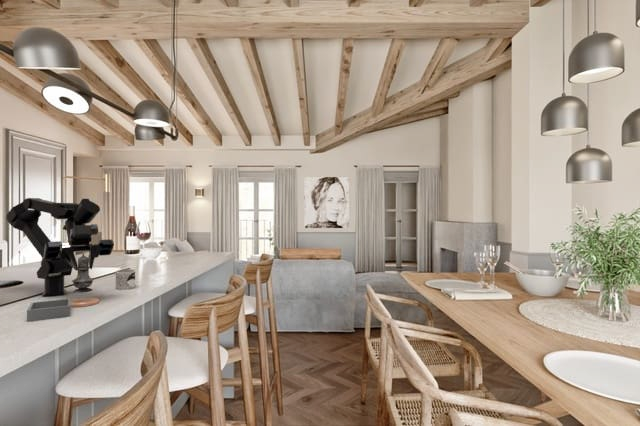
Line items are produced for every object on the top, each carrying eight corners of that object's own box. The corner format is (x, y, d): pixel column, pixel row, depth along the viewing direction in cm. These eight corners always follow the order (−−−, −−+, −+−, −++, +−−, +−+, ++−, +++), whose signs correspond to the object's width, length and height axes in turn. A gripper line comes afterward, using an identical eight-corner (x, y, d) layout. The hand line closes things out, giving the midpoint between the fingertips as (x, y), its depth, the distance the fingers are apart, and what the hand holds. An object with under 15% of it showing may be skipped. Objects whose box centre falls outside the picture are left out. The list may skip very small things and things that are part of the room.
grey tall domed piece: (82, 293, 112) (83, 255, 112) (67, 292, 113) (67, 254, 113) (98, 289, 118) (98, 253, 118) (82, 288, 119) (83, 252, 119)
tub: (30, 312, 105) (31, 302, 105) (70, 308, 110) (70, 298, 110) (26, 321, 97) (26, 310, 97) (70, 316, 102) (70, 305, 102)
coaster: (67, 302, 117) (67, 299, 117) (98, 299, 121) (98, 296, 121) (66, 308, 110) (66, 305, 110) (99, 304, 114) (99, 301, 114)
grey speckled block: (130, 289, 136) (130, 272, 136) (112, 290, 135) (112, 272, 135) (141, 284, 146) (141, 268, 146) (124, 284, 145) (124, 268, 145)
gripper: (45, 216, 112) (51, 255, 104) (112, 216, 125) (122, 251, 117) (41, 239, 117) (46, 278, 110) (106, 237, 130) (114, 271, 123)
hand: (84, 269), depth 115 cm, fingers closed on grey tall domed piece, 4 cm apart
